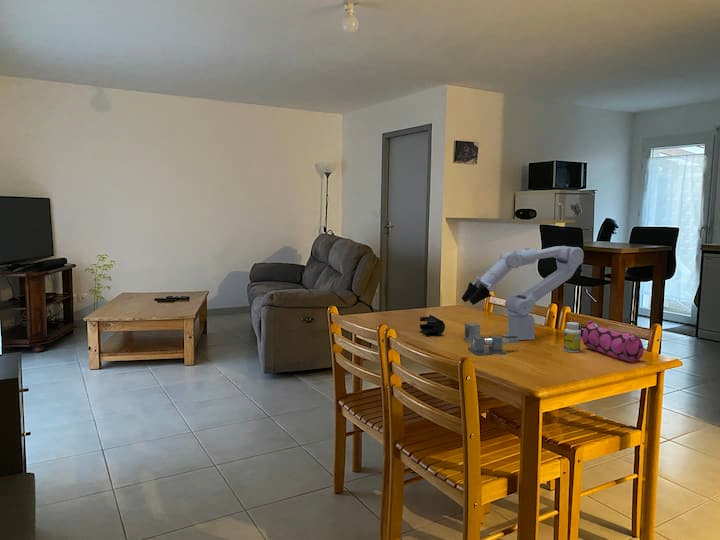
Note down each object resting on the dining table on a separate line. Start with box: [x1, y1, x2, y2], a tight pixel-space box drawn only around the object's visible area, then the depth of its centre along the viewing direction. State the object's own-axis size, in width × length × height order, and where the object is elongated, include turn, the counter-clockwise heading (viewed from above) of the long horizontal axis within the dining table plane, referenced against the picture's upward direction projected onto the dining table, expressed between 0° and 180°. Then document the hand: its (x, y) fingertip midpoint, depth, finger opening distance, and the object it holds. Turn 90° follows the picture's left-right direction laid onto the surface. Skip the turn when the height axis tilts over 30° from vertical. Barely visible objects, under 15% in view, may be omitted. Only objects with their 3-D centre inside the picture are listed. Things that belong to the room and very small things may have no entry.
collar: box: [463, 322, 481, 344], centre depth 202 cm, size 4×5×6 cm
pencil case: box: [580, 320, 644, 363], centre depth 184 cm, size 21×10×10 cm, turn 19°
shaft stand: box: [467, 334, 520, 356], centre depth 187 cm, size 16×8×5 cm, turn 100°
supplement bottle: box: [563, 321, 582, 353], centre depth 189 cm, size 5×5×10 cm
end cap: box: [419, 314, 446, 338], centre depth 214 cm, size 10×7×7 cm
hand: (467, 301), depth 202 cm, fingers open, 7 cm apart
